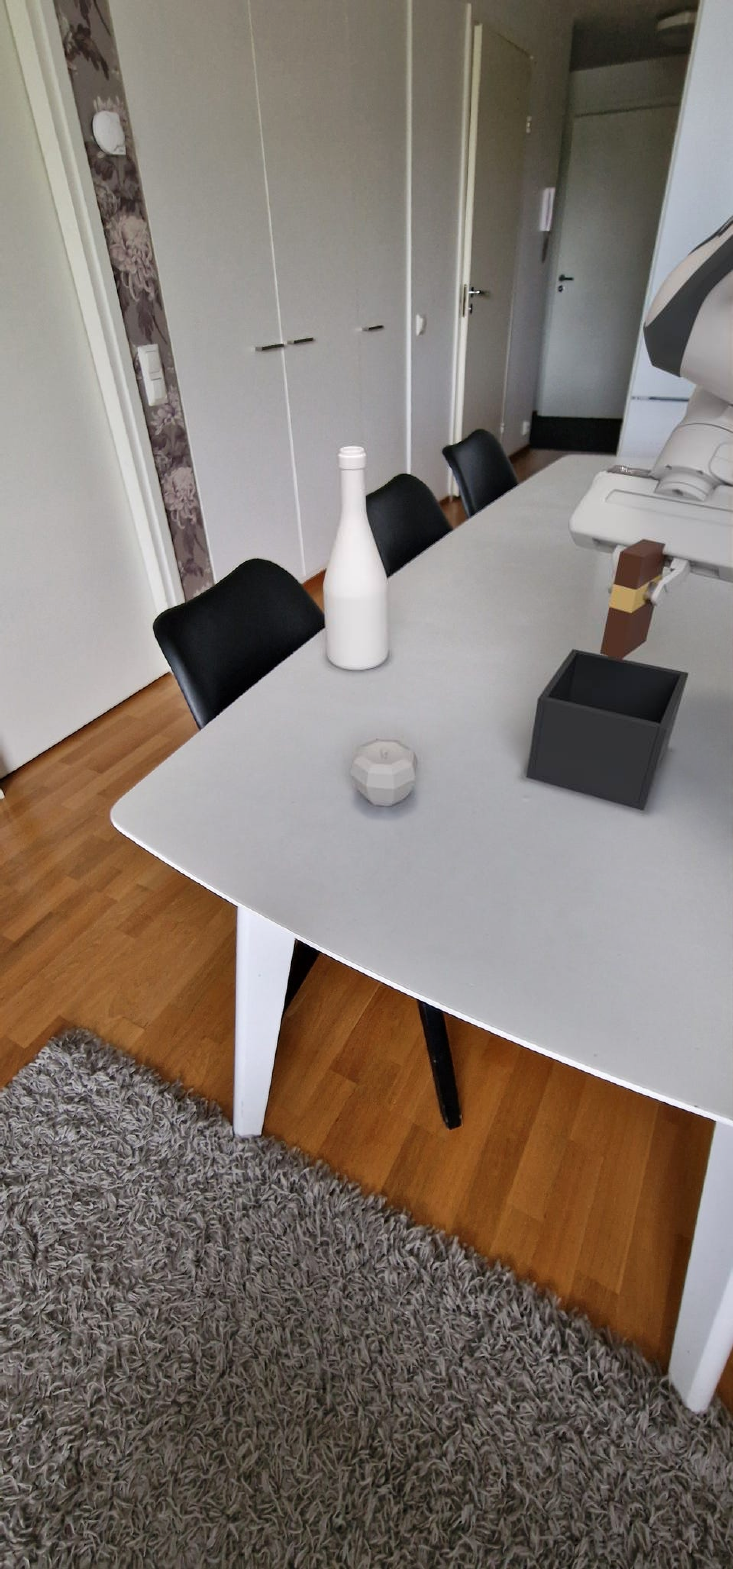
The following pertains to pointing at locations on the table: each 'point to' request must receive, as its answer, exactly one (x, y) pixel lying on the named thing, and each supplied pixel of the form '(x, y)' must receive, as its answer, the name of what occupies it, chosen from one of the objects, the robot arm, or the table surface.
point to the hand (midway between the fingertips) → (632, 597)
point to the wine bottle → (355, 578)
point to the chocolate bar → (632, 598)
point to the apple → (384, 771)
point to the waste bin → (605, 726)
